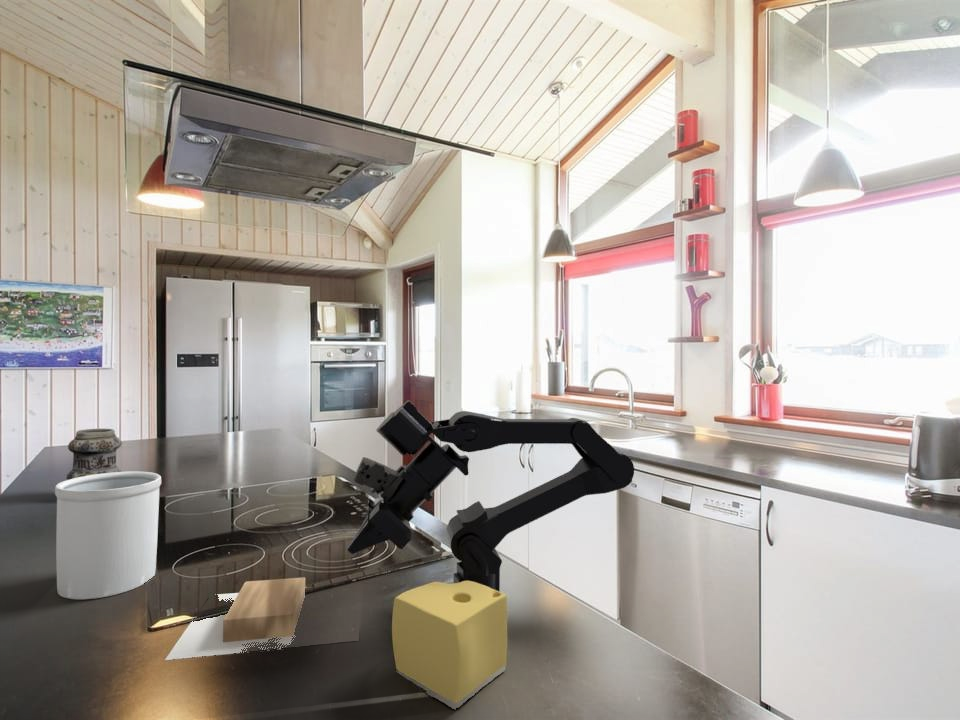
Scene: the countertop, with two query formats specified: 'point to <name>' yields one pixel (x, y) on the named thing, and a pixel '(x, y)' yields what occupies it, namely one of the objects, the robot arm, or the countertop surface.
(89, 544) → the utensil holder
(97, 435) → the apothecary jar
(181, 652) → the mat
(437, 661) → the cheese
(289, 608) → the oak board
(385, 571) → the countertop surface
